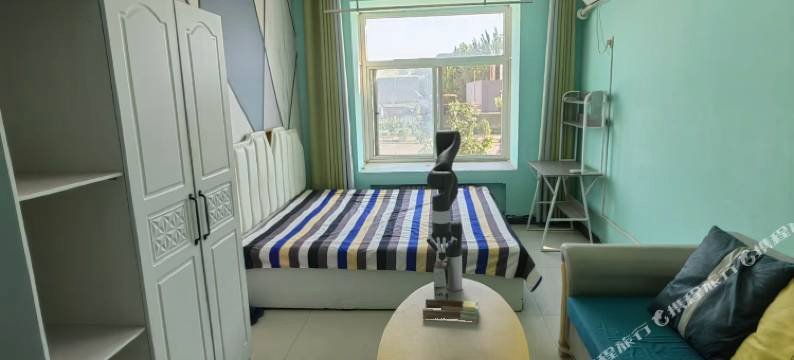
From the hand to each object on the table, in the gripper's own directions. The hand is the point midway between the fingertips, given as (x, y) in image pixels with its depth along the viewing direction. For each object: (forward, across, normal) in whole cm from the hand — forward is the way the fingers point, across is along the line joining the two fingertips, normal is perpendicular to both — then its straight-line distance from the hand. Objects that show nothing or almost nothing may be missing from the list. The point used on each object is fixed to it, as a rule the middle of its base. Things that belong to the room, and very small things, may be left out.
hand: (442, 260), depth 188 cm
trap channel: (+25, -3, 0) cm, 25 cm away
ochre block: (+23, -11, 0) cm, 25 cm away
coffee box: (+25, +2, -16) cm, 30 cm away
